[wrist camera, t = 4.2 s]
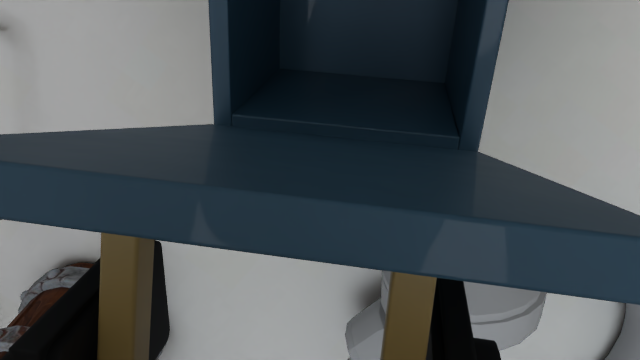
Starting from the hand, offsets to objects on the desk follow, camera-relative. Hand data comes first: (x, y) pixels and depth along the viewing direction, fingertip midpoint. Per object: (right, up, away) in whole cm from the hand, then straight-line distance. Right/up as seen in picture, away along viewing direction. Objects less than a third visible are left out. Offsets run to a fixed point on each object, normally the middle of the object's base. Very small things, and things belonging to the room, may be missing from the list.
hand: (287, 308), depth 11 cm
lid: (+1, +4, +2) cm, 4 cm away
